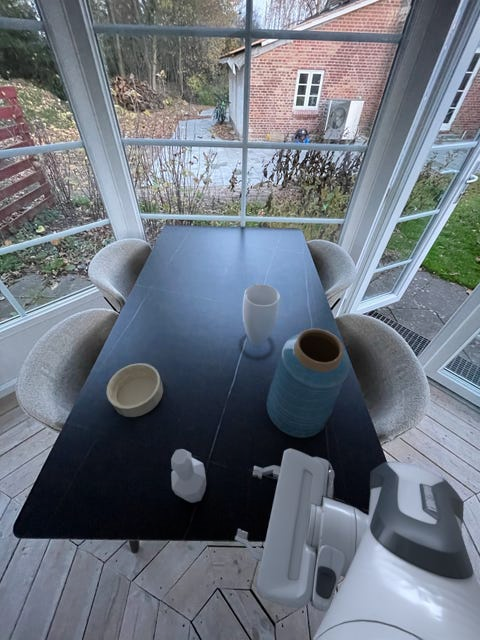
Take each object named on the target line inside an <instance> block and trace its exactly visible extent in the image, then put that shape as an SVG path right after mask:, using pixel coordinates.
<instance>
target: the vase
mask: <svg viewBox="0 0 480 640" xmlns="http://www.w3.org/2000/svg"><path fill="white" fill-rule="evenodd" d="M350 368H351V363H350V359H349V356H348V354H347V352H346V350H345V349H344V346H343V344H342V341H341V340H340V339H339V338H338V336H336V335H335V334H333V333H332V332H330V331H328V330H326V329H321V328H309V329H306V330H304V331H302V332H301V333H298V334H295V335H293V336H292V337H290V338H289V339H287V340H286V341H285V343H284V345H283V347H282V349H281V352H280V356H279V359H278V362H277V365H276V369H275V371H274V375H273V378H272V381H271V384H270V386H269V389H268V393H267V397H266V410H267V411H266V412H267V414H268V416H269V418H270V421H271V422H272V423H273V424H274V426H275V427H276V428H277V429H279V430H280V431H281V432H283V433H285V434H286V435H289V436H291V437H295V438H299V439H303V438H304V439H305V438H310V437H313V436H316V435H318V434H319V433H321V432H322V431H323V430H324V429H325V428H326V426H327V424H328V421H329V420H330V417H331V415H332V413H333V411H334V408H335V405H336V403H337V400H338V398H339V396H340V394H341V392H342V389H343V386H344V384H345V382H346V380H347V378H348V376H349V373H350Z"/></svg>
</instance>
